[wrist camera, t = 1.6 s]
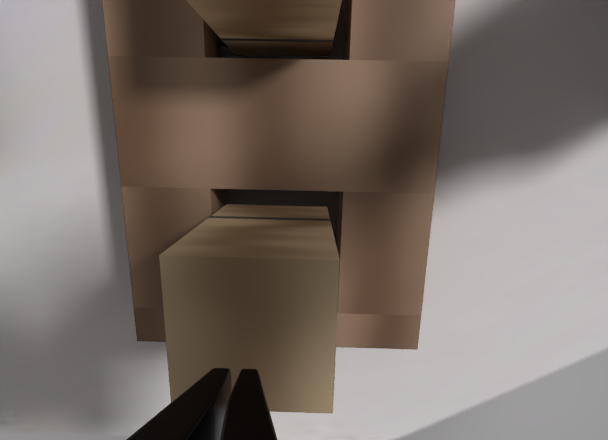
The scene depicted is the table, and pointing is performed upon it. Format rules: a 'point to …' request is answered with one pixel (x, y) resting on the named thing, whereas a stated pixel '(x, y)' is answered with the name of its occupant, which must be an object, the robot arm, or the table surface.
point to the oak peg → (256, 303)
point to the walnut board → (284, 136)
